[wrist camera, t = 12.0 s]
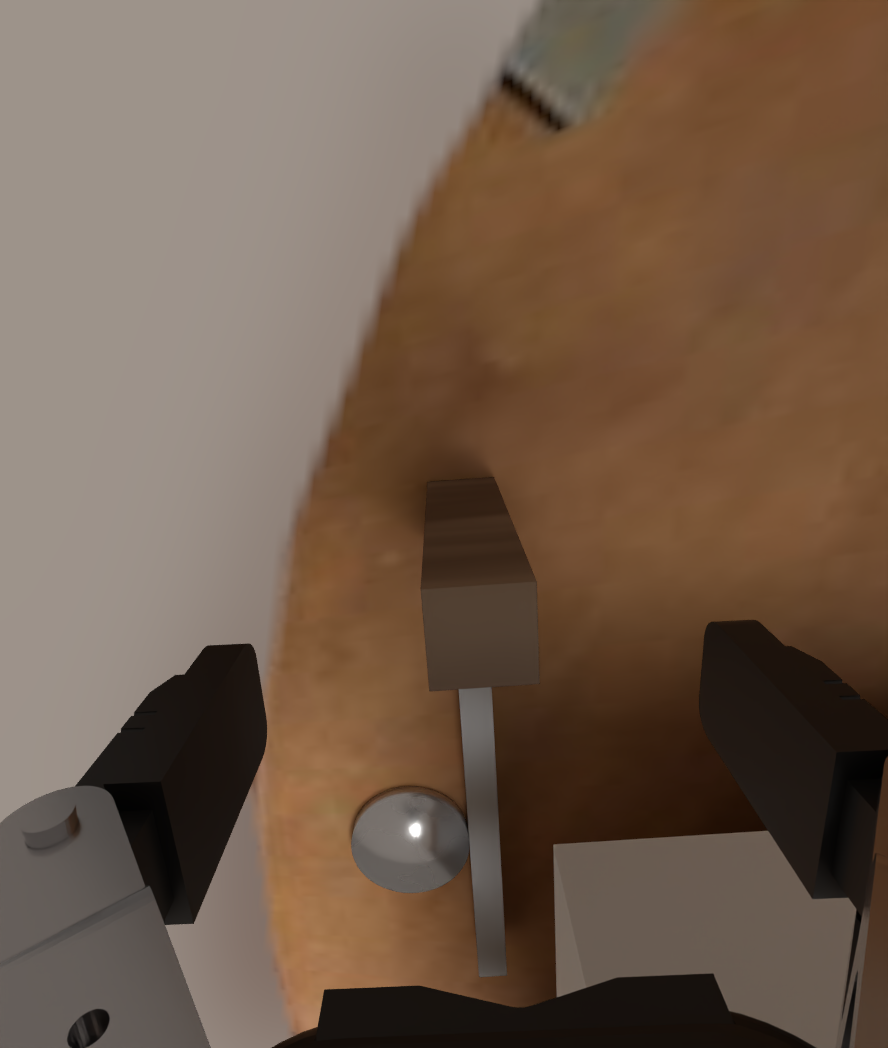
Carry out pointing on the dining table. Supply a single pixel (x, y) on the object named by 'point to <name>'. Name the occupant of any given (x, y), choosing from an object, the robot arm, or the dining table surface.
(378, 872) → the ball
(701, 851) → the cabinet
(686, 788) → the dining table surface
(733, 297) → the dining table surface
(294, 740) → the dining table surface
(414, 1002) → the robot arm
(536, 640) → the blade tool
